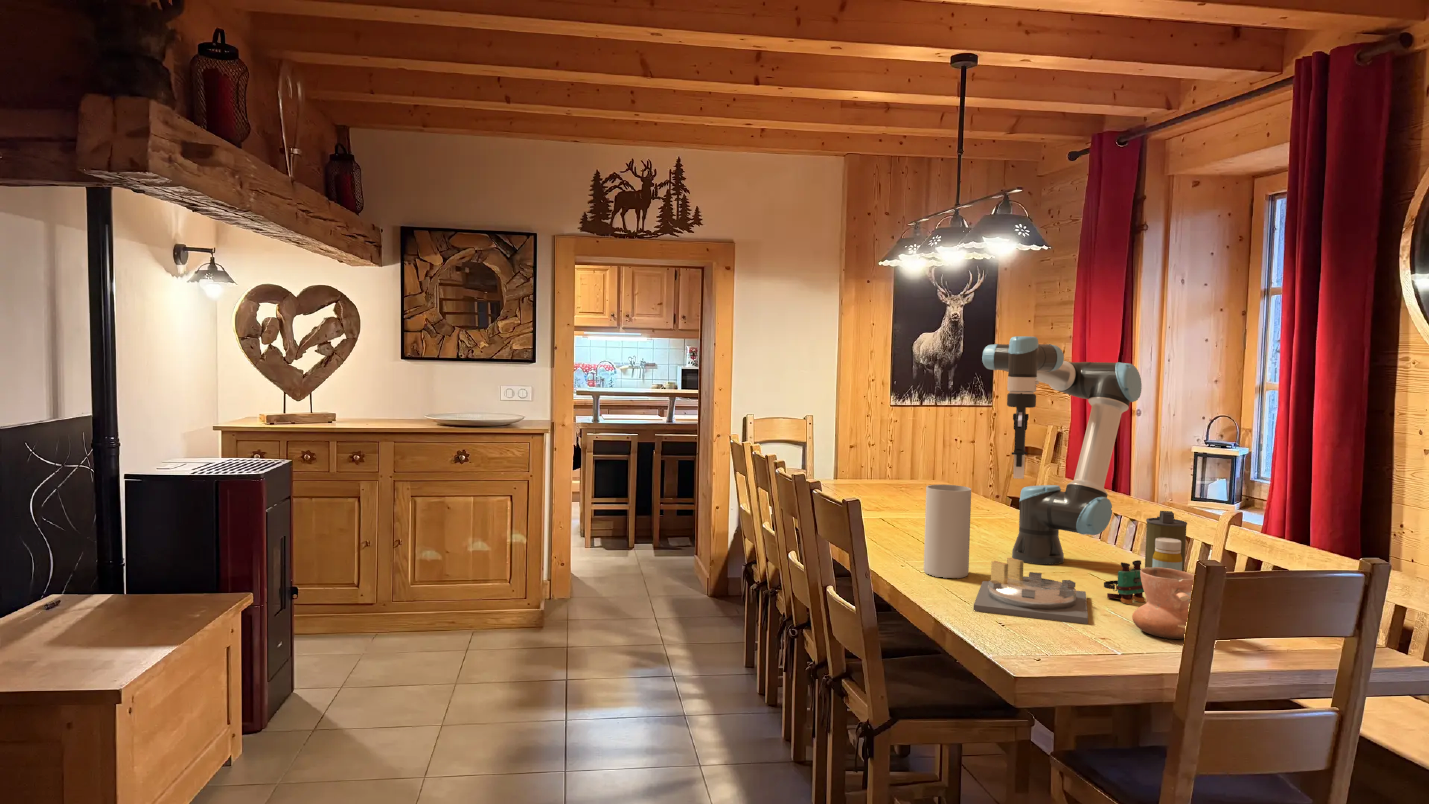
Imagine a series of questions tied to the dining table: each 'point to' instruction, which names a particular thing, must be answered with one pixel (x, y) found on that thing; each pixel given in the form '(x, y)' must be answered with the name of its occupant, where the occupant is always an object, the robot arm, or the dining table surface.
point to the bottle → (1167, 553)
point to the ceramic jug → (1164, 602)
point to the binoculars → (1127, 584)
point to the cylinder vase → (947, 531)
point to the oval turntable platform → (1028, 588)
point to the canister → (1164, 534)
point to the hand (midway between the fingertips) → (1018, 478)
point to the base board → (1067, 615)
